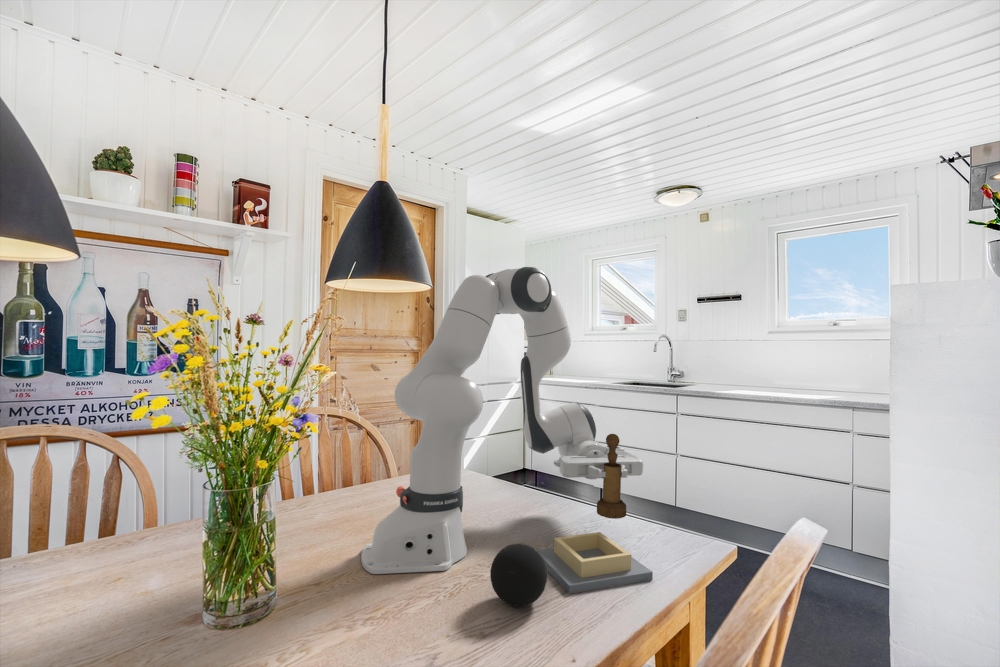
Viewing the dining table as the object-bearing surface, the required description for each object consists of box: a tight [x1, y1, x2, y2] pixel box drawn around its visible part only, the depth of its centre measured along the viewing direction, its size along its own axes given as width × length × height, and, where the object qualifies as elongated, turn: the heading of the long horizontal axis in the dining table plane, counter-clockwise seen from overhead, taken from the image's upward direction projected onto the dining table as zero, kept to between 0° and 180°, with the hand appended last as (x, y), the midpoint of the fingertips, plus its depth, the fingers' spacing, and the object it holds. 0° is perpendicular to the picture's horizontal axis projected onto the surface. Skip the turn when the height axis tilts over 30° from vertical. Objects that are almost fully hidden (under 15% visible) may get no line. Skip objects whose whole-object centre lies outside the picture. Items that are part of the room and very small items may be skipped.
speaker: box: [490, 543, 548, 608], centre depth 87 cm, size 10×10×10 cm
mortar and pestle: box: [596, 433, 627, 520], centre depth 112 cm, size 7×6×18 cm
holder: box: [535, 531, 654, 595], centre depth 100 cm, size 18×16×4 cm
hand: (613, 474), depth 111 cm, fingers closed on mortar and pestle, 4 cm apart
